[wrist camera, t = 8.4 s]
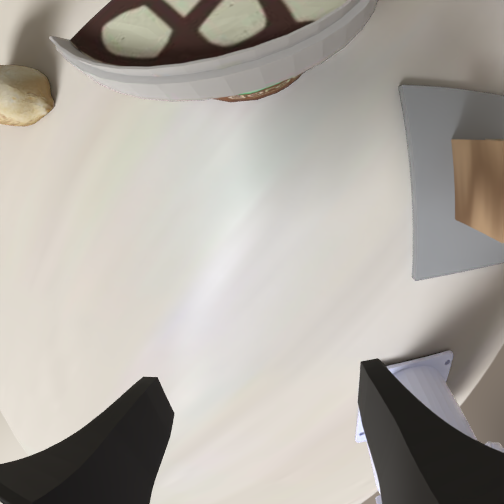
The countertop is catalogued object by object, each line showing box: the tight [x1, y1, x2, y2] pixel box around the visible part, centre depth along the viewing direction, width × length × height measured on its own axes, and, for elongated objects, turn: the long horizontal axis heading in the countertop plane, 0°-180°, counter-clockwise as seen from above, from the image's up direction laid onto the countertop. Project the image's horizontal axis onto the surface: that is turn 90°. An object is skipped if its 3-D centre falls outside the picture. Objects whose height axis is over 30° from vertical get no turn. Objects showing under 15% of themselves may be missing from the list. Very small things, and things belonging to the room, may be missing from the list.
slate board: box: [399, 85, 504, 281], centre depth 15 cm, size 12×11×1 cm
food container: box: [49, 0, 378, 102], centre depth 10 cm, size 12×6×10 cm, turn 128°
